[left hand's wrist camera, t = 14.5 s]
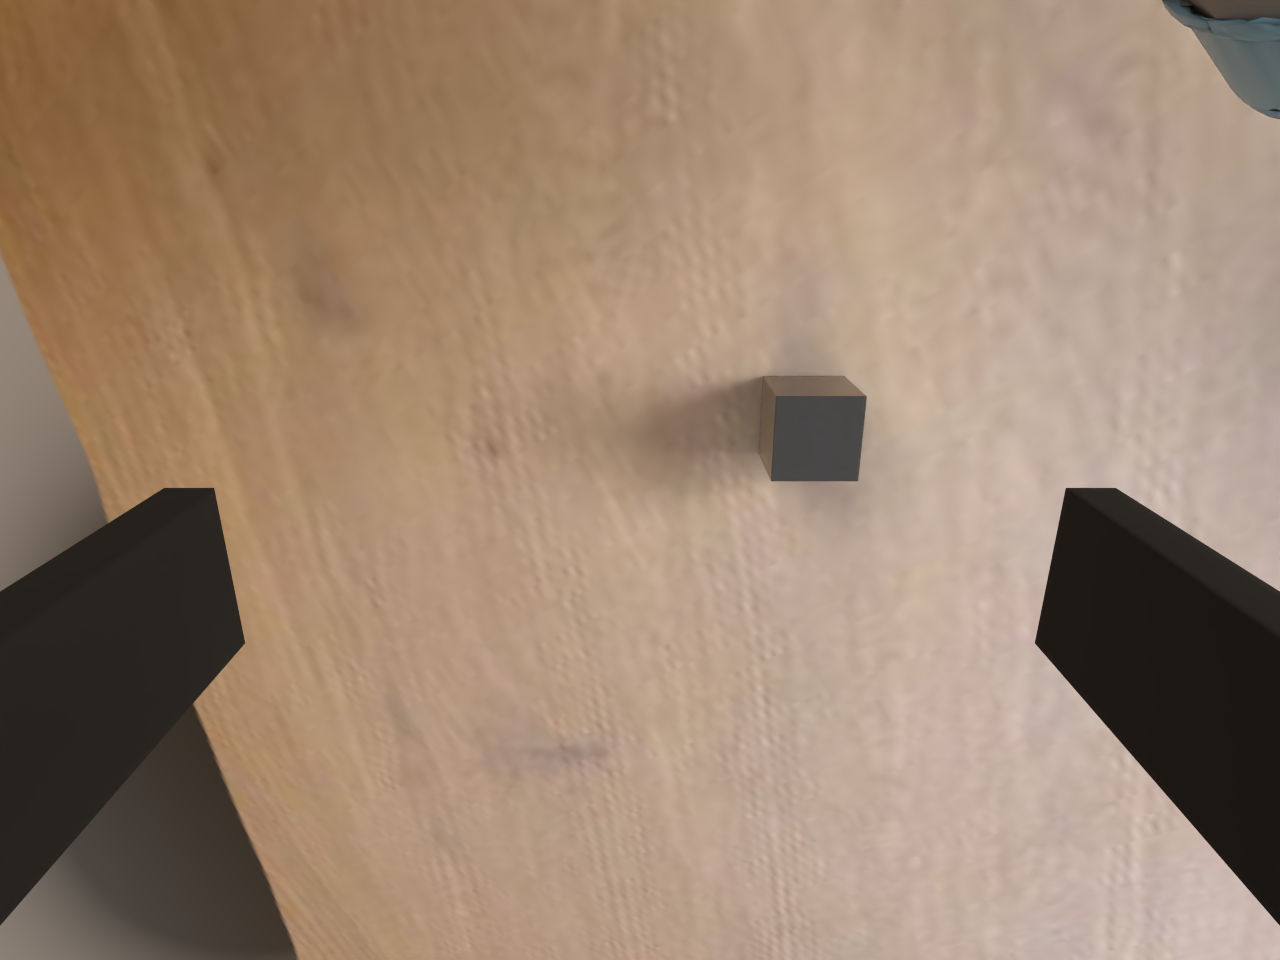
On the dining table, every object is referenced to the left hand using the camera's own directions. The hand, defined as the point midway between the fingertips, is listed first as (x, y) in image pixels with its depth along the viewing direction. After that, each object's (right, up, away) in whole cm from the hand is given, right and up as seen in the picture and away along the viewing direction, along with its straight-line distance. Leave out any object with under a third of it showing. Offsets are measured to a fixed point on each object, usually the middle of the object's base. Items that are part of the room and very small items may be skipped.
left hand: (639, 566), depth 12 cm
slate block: (+8, +5, +27) cm, 28 cm away
